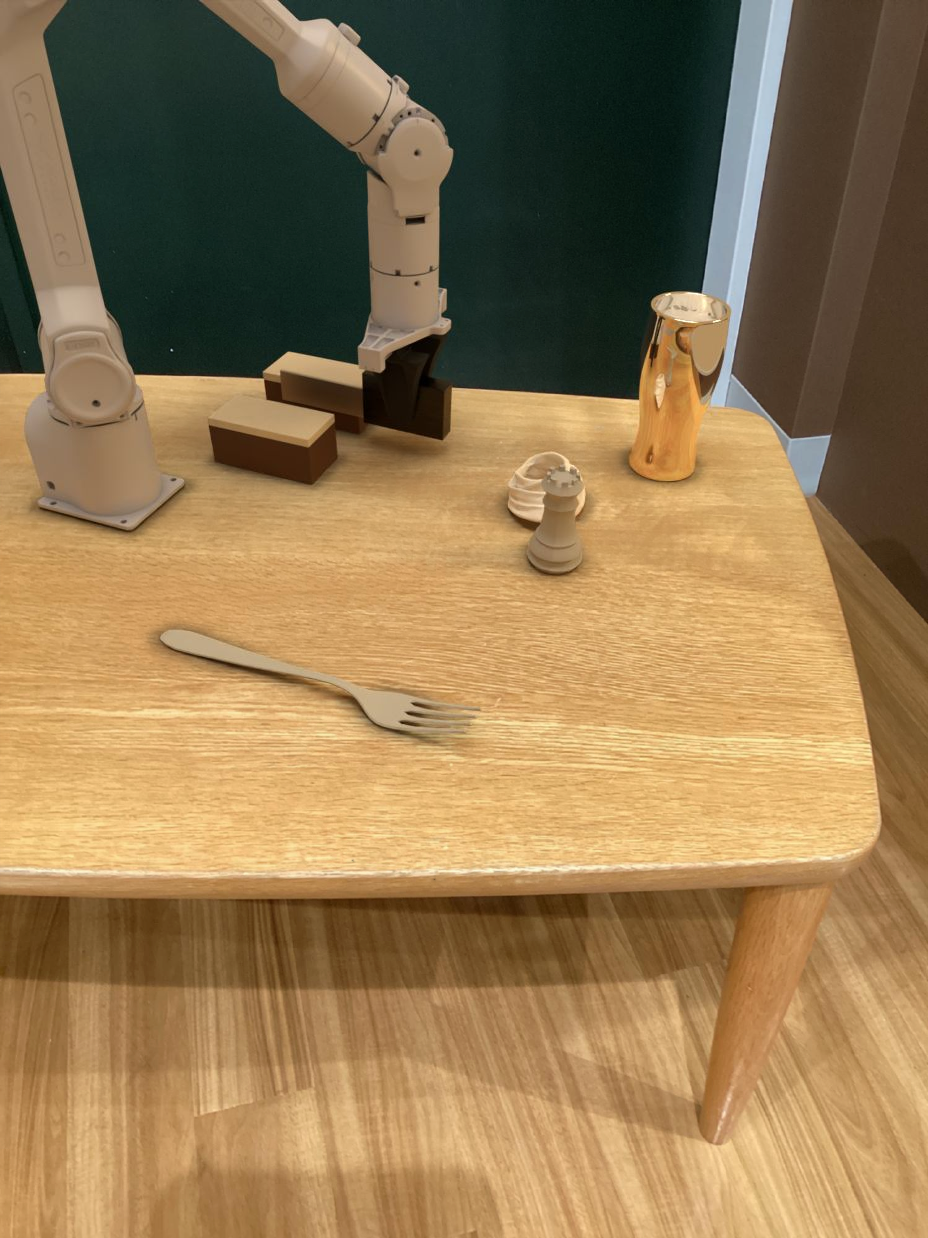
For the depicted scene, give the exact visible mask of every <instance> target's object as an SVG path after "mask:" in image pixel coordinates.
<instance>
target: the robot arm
mask: <svg viewBox="0 0 928 1238" xmlns="http://www.w3.org/2000/svg"><path fill="white" fill-rule="evenodd" d="M198 1H199V2H201V3H202V4H203V5H204V6H205V7H206V8H208V9H209V10H210V11H212V12H213V14H215V15H216V16H218V17H219V18H220V19H221V20H223V21H224V22H225V23H226V24H228V25H229V26H230V27H231V28H232V29H234V30H235V31H236V32H238V33H239V34H240V35H241V36H242V37H243V38H245V39H246V40H247V41H248V42H249V43H251V44H252V45H253V46H255V47H256V48H257V49H258V50H259V51H261V52H262V53H264V54H265V55H266V56H267V57H268V58H270V59H271V60H272V62H273V64H274V68H275V71H276V77H277V83H278V87H279V92H280V94H281V95H282V96H283V97H285V99H287V100H288V101H289V102H291V103H292V104H293V105H294V106H296V108H298V109H299V110H300V111H301V112H302V113H304V114H305V115H306V116H308V118H310V119H311V120H312V121H313V122H315V123H316V124H317V125H318V126H319V127H321V128H322V129H323V130H324V131H326V132H327V133H328V134H329V135H330V136H331V137H333V138H334V139H335V140H337V141H338V142H339V143H340V144H341V145H342V146H344V147H345V148H346V149H347V150H348V151H351V152H355V153H356V156H357V157H358V159H359V160H360V162H361V163H362V164H363V165H366V166H369V168H371V169H368V170H366V181H367V231H368V255H369V283H370V285H369V286H370V307H371V311H370V313H369V315H368V320H367V324H366V328H365V332H364V337H363V340H362V342H360V344H359V345H358V346H357V355H358V356H357V358H358V359H357V360H358V365H359V369H363V370H368V371H372V372H373V374H374V376H375V377H376V379H377V382H378V384H379V386H380V389H381V392H382V395H383V399H384V402H385V405H386V409H387V412H388V415H389V418H390V419H392V420H397V421H402V422H406V423H410V422H411V421H412V419H413V416H414V412H415V407H416V399H417V390H418V384H419V380H420V376H421V375H423V376H427V377H432V374H433V372H434V367H435V365H436V362H437V360H438V357H439V354H440V352H441V350H442V348H443V347H444V344H446V343H445V342H447V339H448V332H449V331H450V330H451V329H452V320H451V319H450V318H447V317H443V316H442V314H443V313H444V312H445V311H447V308H448V307H447V305H448V303H447V301H448V298H447V297H448V296H447V295H448V289H447V288H442V287H439V285H440V283H439V280H440V279H439V278H440V186H441V184H442V182H443V181H444V180H445V178H446V176H447V175H448V173H449V171H450V168H451V165H452V162H453V158H454V149H453V148H452V147H450V146H449V138H448V136H447V135H446V133H445V132H446V129H445V126H444V125H443V123H442V121H441V120H440V119H439V118H438V117H437V116H436V115H435V114H434V113H432V112H431V111H429V110H428V109H426V108H425V107H423V106H422V105H419V104H418V103H416V102H415V101H414V100H412V99H411V98H410V96H409V95H408V94H407V93H408V91H409V89H410V85H409V84H408V83H407V82H406V81H405V80H404V79H403V78H402V77H400V75H399V76H398V75H397V74H395V75H394V76H393V77H392V78H391V76H390V75H388V74H387V72H385V71H384V70H383V69H382V68H381V67H380V66H379V65H378V64H377V63H375V62H374V60H372V58H370V56H368V55H367V54H366V53H364V51H363V50H362V49H360V48H359V47H358V45H359V43H360V41H361V36H360V35H359V34H358V33H357V32H356V31H355V30H354V29H352V27H351V26H349V25H348V24H346V23H344V22H341V23H340V24H339V25H338V27H337V26H336V25H335V24H334V23H333V22H332V21H331V20H329V19H327V18H317V19H312V20H311V19H310V20H299V19H298V18H296V17H295V15H293V13H291V12H290V11H289V9H288V8H286V6H284V5H283V4H282V3H281V2H280V1H279V0H198ZM67 2H68V0H0V169H1V173H2V177H3V181H4V184H5V187H6V191H7V195H8V199H9V202H10V206H11V210H12V213H13V216H14V220H15V224H16V228H17V232H18V236H19V239H20V243H21V246H22V250H23V253H24V257H25V261H26V264H27V268H28V271H29V274H30V275H29V276H30V279H31V282H32V286H33V290H34V294H35V298H36V301H37V306H38V310H39V314H40V321H39V324H38V329H37V342H38V346H39V350H40V352H41V356H42V363H43V370H44V379H43V380H44V389H45V391H43V392H41V393H40V394H38V395H37V396H36V397H35V398H34V399H33V400H32V401H31V403H30V405H29V406H28V408H27V411H26V414H25V418H24V425H23V426H24V427H23V428H24V437H25V442H26V444H27V448H28V451H29V454H30V457H31V460H32V464H33V467H34V470H35V473H36V476H37V478H38V482H39V485H40V488H41V492H42V494H43V496H42V497H40V498H39V499H38V500H37V505H38V507H39V508H42V509H46V510H50V511H54V512H57V513H61V514H64V515H68V516H72V517H75V518H80V519H83V520H87V521H91V522H96V523H99V524H101V525H102V524H103V525H106V526H110V527H114V528H117V529H121V530H125V531H132V530H134V529H136V528H137V527H138V526H139V525H140V524H141V523H143V521H145V520H146V519H147V518H149V516H150V515H152V514H153V513H154V512H155V511H156V510H158V508H160V507H161V506H162V505H163V504H164V503H166V502H167V501H168V500H169V499H170V498H171V497H172V496H173V495H175V494H176V493H177V492H178V491H179V490H181V488H183V487H184V486H185V480H184V478H181V477H177V476H175V475H169V474H165V473H161V471H160V467H159V462H158V458H157V452H156V449H155V444H154V440H153V434H152V430H151V426H150V421H149V416H148V412H147V408H146V403H145V398H144V393H143V390H142V388H141V387H140V386H139V385H138V384H137V379H136V375H135V373H134V369H133V367H132V365H131V364H130V363H129V361H128V360H129V359H128V358H127V353H126V351H125V348H124V343H123V341H124V339H123V335H122V331H121V328H120V325H119V324H118V322H117V321H116V319H115V318H114V317H113V315H111V313H110V312H109V311H108V310H107V308H106V306H105V301H104V298H103V294H102V290H101V285H100V281H99V278H98V277H99V276H98V272H97V269H96V264H95V260H94V255H93V251H92V250H93V249H92V246H91V242H90V241H91V240H90V238H89V233H88V229H87V225H86V220H85V215H84V211H83V207H82V202H81V198H80V193H79V189H78V184H77V181H76V176H75V171H74V167H73V163H72V158H71V154H70V150H69V146H68V140H67V137H66V132H65V128H64V123H63V120H62V115H61V111H60V106H59V101H58V96H57V93H56V88H55V84H54V79H53V76H52V71H51V66H50V62H49V58H48V54H47V49H46V45H45V40H44V33H45V30H46V29H47V28H48V26H49V25H50V24H51V22H52V21H53V20H54V19H55V17H56V16H57V15H58V13H59V12H60V11H61V9H62V8H63V7H64V5H66V3H67ZM372 170H373V171H372Z"/></svg>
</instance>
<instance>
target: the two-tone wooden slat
mask: <svg viewBox="0 0 928 1238" xmlns="http://www.w3.org/2000/svg"><path fill="white" fill-rule="evenodd" d="M280 378H281V389H282V399H283V400H287V401H292V402H296V403H301V404H305V405H309V406H314V407H318V408H322V409H327V410H331V411H336V412H340V413H344V414H349V415H353V416H357V417H362V418H363V421H364V423H367V424H368V425H372V426H376V427H380V428H381V427H382V428H384V429H385V428H386V429H390V430H394V431H399V432H403V433H407V434H411V435H416V436H420V437H425V438H429V439H434V440H437V441H444V440H445V439H446V437H447V436H448V435H449V434H450V432H451V429H452V428H451V427H452V425H451V424H452V423H451V422H452V397H453V381H451V380H446V379H441V378H436V377H432V376H431V377H427V376H423V375H421V376H420V380H419V384H418V390H417V399H416V407H415V412H414V416H413V419H412V421H411V422H410V423H406V422H402V421H397V420H392V419H390V418H389V415H388V412H387V409H386V405H385V402H384V399H383V395H382V392H381V389H380V386H379V384H378V382H377V379H376V377H375V376H374V374H373V372H372V371H368V370H365V371H364V372H363V373H362V387H359V386H355V385H350V384H346V383H341V382H336V381H332V380H327V379H323V378H318V377H314V376H309V375H305V374H300V373H295V372H291V371H286V370H282V369H281V370H280Z"/></svg>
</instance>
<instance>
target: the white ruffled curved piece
mask: <svg viewBox="0 0 928 1238" xmlns="http://www.w3.org/2000/svg"><path fill="white" fill-rule="evenodd" d="M559 465H566V467H565V470H566V471H570V468H571V467H574V468H576V469H577V472H580V471H579V469H578V468H577V466H576V465H574V464H573V463H572V464H571V463H570V461H569V459H568V458H567V457H565V456H564V455H562V454H561V453H559V452H556V451H546V452H541V453H537V454H534V455H532V456H531V457H528V458H527V459H526V461H524V462H523V463H522V465H520V466H519V467H518V468H517V469H516V470H515V471H514V472H513V473H514V474H513V475H512V477H511V478H510V480H509V481H508V483H507V487H508V488H509V491H508V501H507V507H508V510H509V511H510V512H511V513H512V514H513V515H514V516H516V517H518V518H520V519H523V520H527V521H530V522H533V523H541V520H542V516H543V512H544V504H543V501H542V499H543V497H544V496H545V495H546V492H545V491H544V489H543V488H542V487H541V481H542V479H543V478H544V477H545V476H546V475H547V471H548V472H549V468H550V467H552V466H554V467H555V468H556V470H559ZM556 470H555V471H556ZM580 479H581V480H582V482H583V483H584V484H585V482H584V479H583V477H582V475H581V476H580ZM586 495H587V491H586V486H585V485H584V489H583V490H582V492H581V493H580V494H579V495H577V499H578V500H579V505H578V507H577V508H576V511H575V518H576V517H577V516H578V515H579V514H580V513H581V512H582V510H583V508H584V506H585V504H586Z"/></svg>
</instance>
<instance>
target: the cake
mask: <svg viewBox="0 0 928 1238" xmlns="http://www.w3.org/2000/svg"><path fill="white" fill-rule="evenodd" d="M206 419H207V424H208V431H209V437H210V443H211V448H212V449H211V450H212V454H213V461H214V462H216V463H220V464H224V465H227V466H232V467H236V468H240V469H244V470H249V471H253V472H257V473H260V474H261V473H262V474H266V475H269V476H274V477H277V478H278V477H279V478H283V479H286V480H291V481H296V482H299V483H304V484H309V485H313V484H314V483H315V482H316V481H318V479H319V478H320V477H321V476H322V475H323V474H324V473H325V472H326V471H327V469H329V468H330V466H332V464H334V462H336V460H337V459H338V447H337V446H338V443H337V432H336V430H337V429H335V418H334V414H330V413H326V412H321V411H316V410H312V409H307V408H302V407H298V406H293V405H288V404H284V403H279V402H274V401H269V400H266V398H259V397H255V396H250V395H247V394H241V393H236V394H235V395H233V396H232V397H231V398H229V399H228V400H226V402H224V403H223V404H222V405H221V406H220V407H218V408H217V409H216V410H214V411H213V412H212V413H211V414H210V415H208V416H207V418H206Z"/></svg>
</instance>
